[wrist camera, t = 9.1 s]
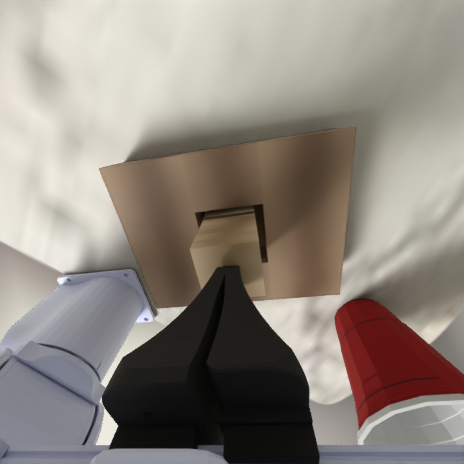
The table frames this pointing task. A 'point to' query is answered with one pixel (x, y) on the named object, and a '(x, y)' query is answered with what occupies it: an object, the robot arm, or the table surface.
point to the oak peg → (229, 247)
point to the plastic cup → (398, 380)
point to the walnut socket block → (237, 195)
